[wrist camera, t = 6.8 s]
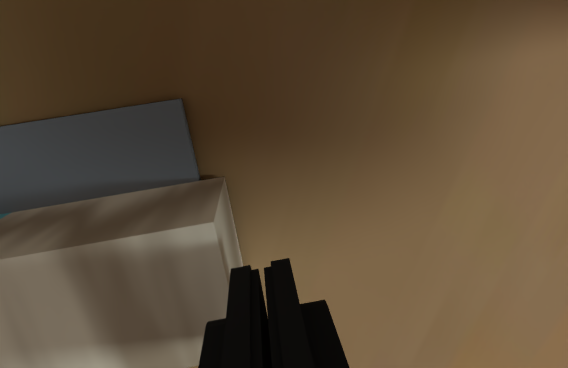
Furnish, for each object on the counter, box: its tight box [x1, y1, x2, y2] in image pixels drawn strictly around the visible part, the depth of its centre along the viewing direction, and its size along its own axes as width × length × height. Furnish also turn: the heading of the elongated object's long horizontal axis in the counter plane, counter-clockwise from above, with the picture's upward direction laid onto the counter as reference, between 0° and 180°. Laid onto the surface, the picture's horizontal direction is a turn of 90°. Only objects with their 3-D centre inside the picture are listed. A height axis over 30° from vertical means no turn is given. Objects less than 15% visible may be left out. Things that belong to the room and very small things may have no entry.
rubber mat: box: [0, 98, 201, 214], centre depth 15 cm, size 14×12×1 cm
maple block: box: [0, 177, 243, 368], centre depth 13 cm, size 5×5×10 cm
